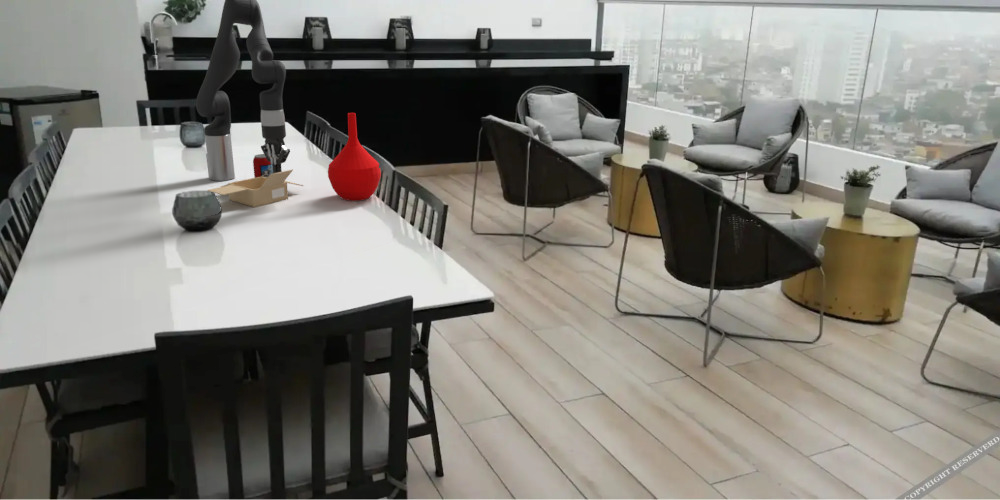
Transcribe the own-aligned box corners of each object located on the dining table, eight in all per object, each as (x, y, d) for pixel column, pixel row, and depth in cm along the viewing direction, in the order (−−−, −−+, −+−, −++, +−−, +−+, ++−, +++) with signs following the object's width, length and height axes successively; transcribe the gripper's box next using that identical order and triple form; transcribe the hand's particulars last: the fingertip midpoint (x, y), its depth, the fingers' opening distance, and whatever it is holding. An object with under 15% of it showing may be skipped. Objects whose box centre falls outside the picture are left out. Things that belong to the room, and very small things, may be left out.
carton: (214, 196, 261) (213, 179, 259) (268, 184, 278) (267, 168, 277) (254, 207, 248) (252, 190, 246) (308, 194, 266) (307, 178, 264)
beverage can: (268, 190, 270) (266, 157, 266) (252, 188, 271) (248, 156, 268) (277, 185, 276) (275, 154, 273) (261, 184, 278) (258, 153, 274)
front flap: (270, 174, 242) (270, 174, 242) (292, 169, 249) (293, 170, 249) (259, 188, 248) (259, 188, 248) (281, 183, 255) (281, 183, 255)
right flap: (231, 184, 252) (231, 185, 253) (207, 189, 246) (207, 190, 246) (247, 189, 247) (247, 190, 247) (223, 194, 241) (223, 195, 241)
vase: (390, 193, 268) (387, 111, 258) (365, 206, 252) (362, 119, 242) (346, 189, 274) (342, 108, 264) (319, 201, 257) (313, 115, 248)
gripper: (295, 124, 241) (299, 175, 247) (270, 119, 248) (274, 170, 254) (276, 126, 235) (280, 179, 241) (251, 122, 243) (255, 173, 248)
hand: (277, 174), depth 247 cm, fingers closed
